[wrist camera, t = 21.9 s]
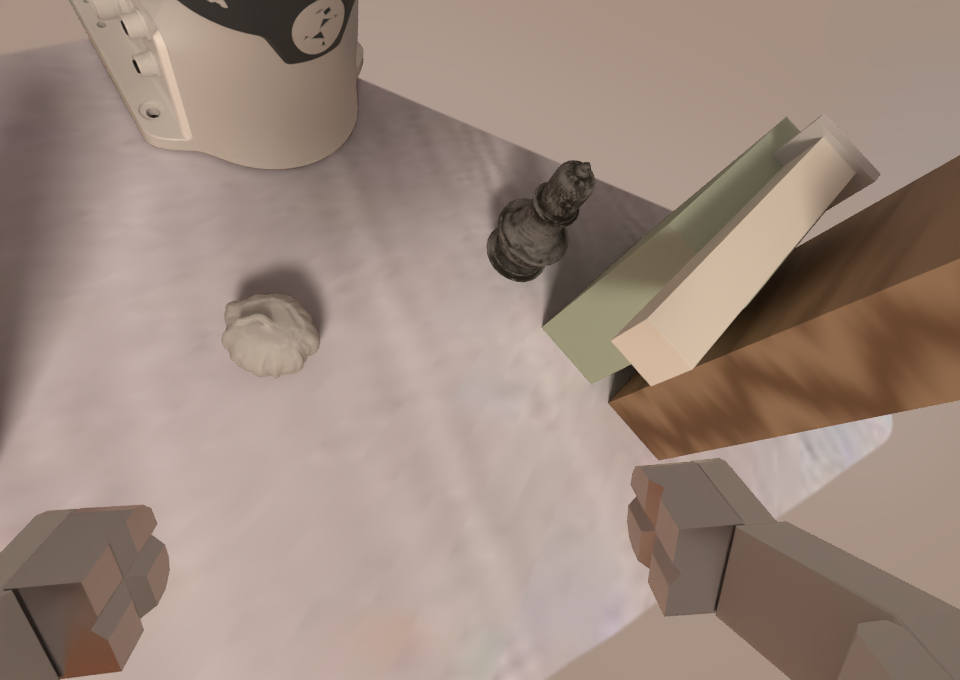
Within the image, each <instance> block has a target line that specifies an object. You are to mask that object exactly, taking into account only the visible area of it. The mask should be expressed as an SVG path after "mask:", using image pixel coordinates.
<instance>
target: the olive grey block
mask: <svg viewBox="0 0 960 680" xmlns="http://www.w3.org/2000/svg"><path fill="white" fill-rule="evenodd" d="M799 132H800V131H799V130H798V129H797V128H796V126H795V125H794V124H793V123H792V122H791V121H790V120H789V119H788V118H787V117H786V118H785V119H783V120H782V121H781V122H780V123H779V124H777V125H776V126H775V127H774V128H773V129H771V130H770V131H769V132H768V133H767V134H766V135H764V136H763V137H762V138H761V139H759V140H758V141H757V142H756V143H755V144H754V145H752V146H751V147H750V148H749V149H748V150H746V151H745V152H744V153H743V154H742V155H740V156H739V157H738V158H737V159H736V160H735V161H733V162H732V163H731V164H730V165H728V166H727V167H726V168H725V169H724V170H723V171H721V172H720V173H719V174H718V175H717V176H716V177H714V178H713V179H712V180H711V181H709V182H708V183H707V184H706V185H705V186H704V187H702V188H701V189H700V190H699V191H698V192H696V193H695V194H694V195H693V196H691V197H690V198H689V199H688V200H687V201H685V202H684V203H683V204H682V205H681V206H680V207H678V208H677V209H676V210H675V211H674V212H672V213H671V214H670V215H669V216H668V217H666V218H665V219H664V220H663V221H662V222H660V223H659V224H658V225H657V226H656V227H654V228H653V229H652V230H651V231H650V232H648V233H647V234H646V235H645V236H644V237H643V238H641V239H640V240H639V241H638V242H637V243H636V244H635V245H634V246H632V247H631V248H630V249H629V250H628V251H627V252H626V253H625V254H623V255H622V256H621V257H620V258H619V259H618V260H617V261H616V262H615V263H613V264H612V265H611V266H610V267H609V268H608V269H607V270H606V271H604V272H603V273H602V274H601V275H600V276H599V277H598V278H597V279H595V280H594V281H593V282H592V283H591V284H590V285H589V286H588V287H587V288H585V289H584V290H583V291H582V292H581V293H580V294H579V295H578V296H576V297H575V298H574V299H573V300H572V301H571V302H570V303H569V304H567V305H566V306H565V307H564V308H563V309H562V310H561V311H560V312H559V313H557V314H556V315H555V316H554V317H553V318H552V319H551V320H550V321H548V322H547V323H546V324H545V325H544V326H543V327H542V328H543V329H544V331H545V332H546V333H547V334H548V335H549V336H550V337H551V338H552V340H553V341H554V342H555V343H556V344H557V345H558V346H559V348H560V349H561V350H562V351H563V352H564V353H565V354H566V356H567V357H568V358H569V359H570V360H571V361H572V362H573V363H574V365H575V366H576V367H577V368H578V369H579V370H580V371H581V373H582V374H583V375H584V376H585V377H586V378H587V379H588V381H589V382H590V383H591V384H593V383H595V382H597V381H599V380H601V379H603V378H605V377H607V376H609V375H611V374H613V373H615V372H617V371H619V370H621V369H623V368H625V367H627V366H629V365H631V363H630V362H629V361H628V360H627V359H626V358H625V356H624V355H623V354H622V353H621V352H620V351H619V350H618V349H617V347H616V346H615V345H614V344H613V343H612V342H611V340H612V339H613V338H614V337H615V336H616V335H617V334H618V333H619V332H620V331H621V330H622V329H623V328H624V327H625V326H626V325H627V324H628V323H629V322H630V321H631V320H632V319H633V318H634V317H635V316H636V315H637V314H638V313H639V312H640V311H641V310H642V309H643V307H644V306H645V305H646V304H647V303H648V302H649V301H650V300H651V299H652V298H653V297H654V296H655V295H656V294H657V293H658V292H659V291H660V290H661V289H662V288H663V287H664V286H665V285H666V284H667V283H668V282H669V281H670V280H671V279H672V278H673V277H674V276H675V275H676V274H677V273H678V272H679V271H680V270H681V269H682V268H683V267H684V266H685V265H686V264H687V263H688V262H689V261H690V260H691V259H692V258H693V257H694V256H695V255H696V254H697V253H698V252H699V251H700V250H701V249H702V248H703V247H704V246H705V245H706V244H707V243H708V242H709V241H710V240H711V239H712V238H713V237H714V236H715V235H716V234H717V233H718V232H719V231H720V230H721V229H722V228H723V227H724V226H725V225H726V224H727V223H728V222H729V221H730V220H731V219H732V218H733V217H734V216H735V215H736V214H737V213H738V212H739V211H740V210H741V209H742V208H743V207H744V206H745V205H746V204H747V203H748V202H749V201H750V200H751V199H752V198H753V197H754V196H755V195H756V194H757V193H758V192H759V191H760V190H761V189H762V188H763V187H764V186H765V185H766V184H767V183H768V182H769V180H770V179H771V178H772V177H773V176H774V175H775V174H776V173H777V172H778V171H779V170H780V169H781V168H782V167H783V166H782V165H781V164H780V163H779V162H778V161H777V160H776V159H775V158H774V157H773V156H772V155H773V154H774V153H775V152H776V151H777V150H778V149H779V148H780V147H782V146H783V145H784V144H785V143H787V142H788V141H789V140H790V139H792V138H793V137H794V136H796V135H797V134H798V133H799ZM824 213H825V212H823V213H822V215H823V214H824ZM822 215H821V216H822ZM821 216H820V217H821ZM820 217H819V218H818V219H817V221H818V220H819V219H820ZM817 221H816V222H817ZM816 222H815V223H816ZM815 223H814V224H813V225H812V227H813V226H814V225H815ZM812 227H811V228H812ZM811 228H810V229H811ZM810 229H809V230H808V231H807V233H808V232H809V231H810ZM807 233H806V234H807ZM806 234H805V235H806ZM805 235H804V236H803V237H802V239H803V238H804V237H805ZM802 239H801V240H802ZM801 240H800V241H799V242H798V243H797V245H798V244H799V243H800V242H801ZM797 245H796V246H797ZM796 246H795V247H794V248H793V249H792V251H793V250H794V249H795V248H796ZM792 251H791V252H792ZM791 252H790V253H789V254H788V255H787V257H788V256H789V255H790V254H791ZM787 257H786V258H787ZM786 258H785V259H784V260H783V261H782V263H783V262H784V261H785V260H786ZM782 263H781V264H782ZM781 264H780V265H779V266H778V267H777V269H778V268H779V267H780V266H781ZM777 269H776V270H777ZM776 270H775V271H774V272H773V273H772V275H773V274H774V273H775V272H776ZM772 275H771V276H772ZM771 276H770V277H769V278H768V279H767V281H768V280H769V279H770V278H771ZM767 281H766V282H767ZM766 282H765V283H764V284H763V285H762V287H763V286H764V285H765V284H766ZM762 287H761V288H762ZM761 288H760V289H759V290H758V291H757V293H758V292H759V291H760V290H761ZM757 293H756V294H757ZM756 294H755V295H754V296H753V297H752V299H753V298H754V297H755V296H756ZM752 299H751V300H752ZM751 300H750V301H749V302H748V303H747V305H748V304H749V303H750V302H751ZM747 305H746V306H747ZM746 306H745V307H744V308H746ZM744 308H743V309H744Z"/></svg>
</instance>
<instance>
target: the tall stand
mask: <svg viewBox="0 0 960 680" xmlns="http://www.w3.org/2000/svg"><path fill="white" fill-rule="evenodd" d="M958 400H960V156H958V157H956V158H954V159H953V160H951V161H949V162H947V163H945V164H944V165H942V166H941V167H939V168H937V169H935V170H933V171H931V172H929V173H928V174H926V175H924V176H922V177H921V178H919V179H917V180H915V181H913V182H912V183H910V184H908V185H907V186H905V187H903V188H901V189H899V190H898V191H896V192H894V193H892V194H891V195H889V196H887V197H885V198H883V199H882V200H880V201H878V202H876V203H874V204H873V205H871V206H869V207H867V208H866V209H864V210H862V211H860V212H859V213H857V214H855V215H853V216H851V217H850V218H848V219H846V220H844V221H843V222H841V223H839V224H838V225H835V226H834V227H832V228H830V229H829V230H827V231H825V232H823V233H821V234H820V235H818V236H816V237H814V238H812V239H811V240H809V241H807V242H805V243H804V244H802V245H800V246H798V247H797V248H795V249H794V250H793V251H792V252H791V254H790V255H789V256H788V257H787V258H786V260H785V261H784V262H783V263H782V264H781V266H780V267H779V268H778V269H777V270H776V272H775V273H774V274H773V275H772V276H771V278H770V279H769V280H768V281H767V282H766V284H765V285H764V286H763V287H762V288H761V290H760V291H759V292H758V293H757V294H756V296H755V297H754V298H753V299H752V300H751V302H750V303H749V304H748V305H747V306H746V308H744V309H742V311H741V312H740V313H739V314H738V315H737V317H736V318H735V319H734V320H733V321H732V323H731V324H730V325H729V326H728V327H727V329H726V330H725V331H724V332H723V333H722V335H721V336H720V337H719V338H718V339H717V341H716V342H715V343H714V344H713V345H712V347H711V348H710V349H709V350H708V351H707V353H706V354H705V355H704V356H703V357H702V359H701V360H700V361H699V362H698V363H697V365H696V366H695V367H694V368H693V369H692V370H690V371H688V372H685V373H683V374H680V375H678V376H675V377H673V378H671V379H668V380H666V381H663V382H661V383H658V384H656V385H653V386H650V385H649V383H648V382H647V381H646V380H645V379H644V378H643V377H642V376H641V374H640V373H639V372H638V371H637V372H636V373H635V374H634V375H633V376H632V377H631V379H630V380H629V381H628V382H627V383H626V384H625V385H624V386H623V387H622V388H621V390H620V391H619V392H618V393H617V394H616V395H615V396H614V397H613V398H612V399H611V401H610V402H609V404H610V406H611V407H612V408H613V409H614V410H615V411H616V412H617V413H618V415H619V416H620V417H621V418H622V419H623V420H624V421H625V423H626V424H627V425H628V426H629V427H630V428H631V429H632V431H633V432H634V433H635V434H636V435H637V436H638V437H639V438H640V440H641V441H642V442H643V443H644V444H645V445H646V446H647V448H648V449H649V450H650V451H651V452H652V453H653V454H654V456H655V457H656V458H657V459H658V460H663V459H668V458H673V457H678V456H683V455H688V454H693V453H698V452H703V451H708V450H713V449H718V448H723V447H728V446H733V445H738V444H743V443H748V442H753V441H758V440H763V439H768V438H773V437H778V436H783V435H788V434H793V433H798V432H803V431H808V430H813V429H818V428H823V427H828V426H833V425H838V424H843V423H848V422H853V421H858V420H863V419H868V418H873V417H878V416H883V415H888V414H893V413H898V412H902V411H908V410H913V409H918V408H923V407H927V406H933V405H938V404H942V403H947V402H953V401H958Z"/></svg>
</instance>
